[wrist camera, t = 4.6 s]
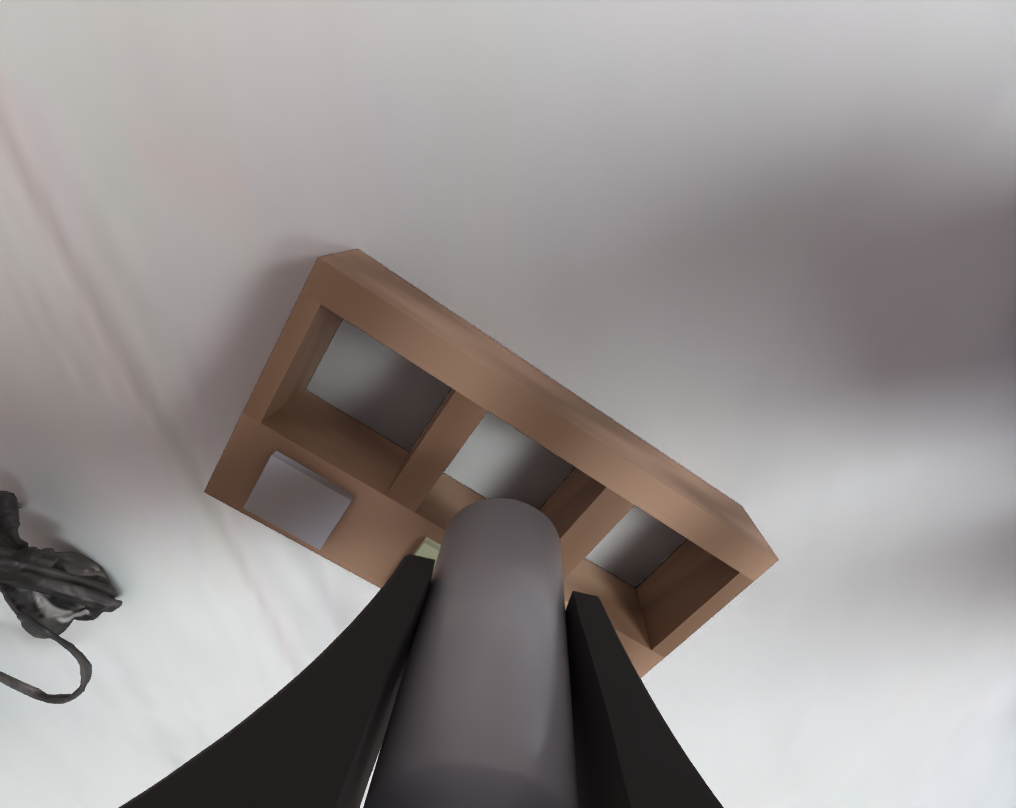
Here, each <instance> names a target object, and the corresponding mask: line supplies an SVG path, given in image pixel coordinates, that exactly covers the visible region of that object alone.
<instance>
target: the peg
mask: <svg viewBox="0 0 1016 808" xmlns="http://www.w3.org/2000/svg"><path fill="white" fill-rule="evenodd" d="M363 808H579V804H578V789H577V775H576V760H575V745H574V731H573V716H572V701H571V686H570V672H569V657H568V642H567V628H566V613H565V598H564V583H563V569H562V554H561V542H560V538H559V535H558V532H557V530H556V528H555V526H554V525H553V523H552V522H551V521H550V520H549V518H548V517H547V516H546V515H544V514H543V513H542V512H541V511H539V510H538V509H537V508H535V507H533V506H531V505H529V504H527V503H524V502H522V501H518V500H515V499H509V498H490V499H484V500H480V501H477V502H474V503H472V504H470V505H468V506H466V507H464V508H463V509H461V510H460V511H459V512H458V513H457V514H456V515H455V516H454V517H453V518H452V519H451V521H450V522H449V524H448V526H447V528H446V530H445V534H444V537H443V540H442V544H441V547H440V550H439V554H438V557H437V561H436V564H435V567H434V571H433V574H432V578H431V583H430V586H429V590H428V593H427V596H426V600H425V603H424V607H423V610H422V613H421V617H420V620H419V622H418V625H417V628H416V631H415V635H414V638H413V642H412V645H411V648H410V652H409V655H408V659H407V662H406V665H405V669H404V672H403V675H402V679H401V682H400V686H399V689H398V692H397V696H396V699H395V702H394V706H393V709H392V713H391V716H390V719H389V723H388V726H387V729H386V733H385V736H384V740H383V743H382V746H381V750H380V753H379V756H378V760H377V763H376V767H375V770H374V773H373V777H372V780H371V783H370V787H369V790H368V794H367V797H366V800H365V804H364V807H363Z"/></svg>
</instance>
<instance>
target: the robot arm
mask: <svg viewBox="0 0 1016 808" xmlns="http://www.w3.org/2000/svg"><path fill="white" fill-rule="evenodd" d="M434 564H435V560H434V559H430V558H426V557H421V556H417V555H412V554H408V555H406V556H404V557H403V559H402V561H401V562H400V564H399V565H398V567H397V568H396V570H395V571H394V573H393V574H392V575H391V577H390V578H389V579H388V581H387V582H386V583H385V584H384V586H383V587H382V588H381V589H380V591H379V592H378V593H377V594H376V596H375V597H374V598H373V599H372V600H371V601H370V603H369V604H368V605H367V606H366V607H365V608H364V609H363V610H362V612H361V613H360V614H359V615H358V616H357V617H356V618H355V620H354V621H353V622H352V623H351V624H350V625H349V626H348V627H347V628H346V629H345V630H344V631H343V632H342V633H341V634H340V635H339V636H338V637H337V638H336V639H335V640H334V641H333V642H332V643H331V644H330V645H329V646H328V647H327V648H326V649H325V650H324V651H323V652H322V653H321V654H320V655H319V656H318V657H317V658H316V659H315V660H314V661H313V662H312V663H311V664H310V665H309V666H307V667H306V668H305V669H304V670H303V671H302V672H301V673H300V674H299V675H298V676H296V677H295V678H294V679H293V680H292V681H291V682H290V683H288V684H287V685H286V686H285V687H284V688H283V689H282V690H280V691H279V692H278V693H277V694H276V695H274V696H273V697H272V698H271V699H270V700H268V701H267V702H266V703H265V704H263V705H262V706H261V707H260V708H258V709H257V710H256V711H255V712H253V713H252V714H251V715H250V716H249V717H247V718H246V719H245V720H244V721H242V722H241V723H240V724H238V725H237V726H236V727H235V728H233V729H232V730H231V731H229V732H228V733H227V734H225V735H224V736H223V737H221V738H220V739H219V740H217V741H216V742H214V743H213V744H212V745H210V746H209V747H207V748H206V749H205V750H203V751H202V752H200V753H199V754H197V755H196V756H195V757H193V758H192V759H190V760H189V761H188V762H186V763H185V764H183V765H182V766H181V767H179V768H178V769H176V770H175V771H174V772H172V773H171V774H169V775H168V776H167V777H165V778H164V779H162V780H161V781H159V782H158V783H156V784H155V785H153V786H152V787H150V788H149V789H147V790H146V791H144V792H143V793H141V794H139V795H138V796H136V797H135V798H133V799H132V800H130V801H128V802H127V803H125V804H124V805H122V806H121V807H119V808H360V805H361V802H362V799H363V796H364V793H365V790H366V787H367V784H368V781H369V778H370V775H371V772H372V770H373V767H374V764H375V762H376V759H377V756H378V754H379V751H380V748H381V745H382V743H383V740H384V736H385V733H386V729H387V726H388V723H389V719H390V716H391V713H392V709H393V706H394V702H395V699H396V696H397V692H398V689H399V686H400V682H401V679H402V675H403V672H404V669H405V665H406V662H407V659H408V655H409V652H410V648H411V645H412V642H413V638H414V635H415V631H416V628H417V625H418V622H419V620H420V617H421V613H422V610H423V607H424V603H425V600H426V596H427V593H428V590H429V586H430V583H431V578H432V574H433V569H434ZM565 613H566V628H567V642H568V657H569V672H570V686H571V701H572V716H573V731H574V745H575V760H576V775H577V789H578V804H579V808H723V806H722V805H721V804H720V802H719V801H718V799H717V798H716V797H715V795H714V794H713V793H712V791H711V790H710V789H709V787H708V786H707V784H706V783H705V781H704V780H703V778H702V777H701V776H700V774H699V773H698V771H697V770H696V768H695V767H694V766H693V764H692V763H691V761H690V760H689V758H688V757H687V755H686V754H685V752H684V751H683V749H682V748H681V746H680V744H679V743H678V741H677V740H676V738H675V737H674V735H673V733H672V732H671V730H670V728H669V727H668V725H667V724H666V722H665V720H664V719H663V717H662V715H661V714H660V712H659V710H658V709H657V707H656V705H655V704H654V702H653V700H652V698H651V697H650V695H649V693H648V691H647V689H646V688H645V686H644V684H643V682H642V680H641V679H640V677H639V675H638V673H637V671H636V669H635V668H634V666H633V664H632V662H631V660H630V658H629V656H628V654H627V652H626V651H625V649H624V647H623V645H622V643H621V641H620V639H619V637H618V635H617V633H616V631H615V629H614V627H613V625H612V622H611V620H610V618H609V616H608V614H607V612H606V610H605V608H604V606H603V604H602V602H601V600H600V598H599V597H598V596H594V595H590V594H586V593H581V592H577V591H572V594H571V596H570V599H569V602H568V605H567V607H566V610H565Z"/></svg>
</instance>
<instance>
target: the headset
mask: <svg viewBox="0 0 1016 808" xmlns="http://www.w3.org/2000/svg"><path fill="white" fill-rule="evenodd" d="M20 507H21V505H20V504H19V502H17V498H16V496H15V494H14V493H11V492H8V491H0V591H1V592H2V593H3V596H4V598H5V600H6V602H7V603H8V605H9V606H10V608H11V609H12V610H13V611H14V613H15V614H16V615H17V618H18V619H19V620H20V621H21V625H22V627H23V628H24V629H25V631H27V632H28V633H29V634H31V635H32V636H33V637H36V638H42V639H45V638H51V639H53V640H55V641H56V642H58V643H59V644H60V645H62V646H63V647H64V648H65V649H67V650H68V651H69V652H70V653H71V654H72V655H73V656H74V657H75V658H76V659H77V661H78V663H79V665H80V674H81V685H80V687H79V688H78V689H77V690H76V691H75V692H74V693H72V694H57V695H50V694H46V693H45V692H43V691H42V690H40V689H39V688H36V687H33V686H31V685H29V684H26V683H24V682H22V681H20V680H18V679H16V678H13V677H11V676H9V675H7V674H5V673H3V672H0V682H2V683H4V684H5V685H7V686H9V687H11V688H13V689H15V690H17V691H19V692H21V693H23V694H25V695H28V696H30V697H32V698H34V699H37V700H40V701H44V702H47V703H53V704H63V703H66V702H69V701H71V700H73V699H75V698H76V697H78V696H79V695H80V694H81V693H82V692H84V690H85V687H86V685H87V684H88V682H89V681H90V679H91V674H92V665H91V663H90V662H89V661H88V659H87V658H86V657H85V656H84V655H83V653H82V652H80V651H79V650H78V649H77V648H76V647H75V646H74V644H72V643H70V642H68V641H66V640H65V639H63V638H61V637H60V636H58V635H60V634H61V633H63V632H64V631H65V630H66V629H67V628H68V627H69V625H70V624H71V623H72V621H73V620H74V619H75V620H82V621H88V620H94V619H96V618H97V617H98V616H99V615H100V614H101V613H102V612H113V611H114V610H116V609H117V608H119V607H120V606H121V605H122V603H123V602H122V601H120V600H116V599H115V596H116V592H115V591H114V589H113V587H112V585H111V583H110V581H109V579H108V578H107V576H106V574H105V572H104V571H103V569H102V568H101V567H100V566H98V565H97V564H96V563H94V562H93V561H91V560H90V559H88V558H86V557H84V556H82V555H80V554H77V553H73V552H55V551H54V549H53V548H45V549H41V550H40V549H38V548H36V547H30V548H29V547H28V543H27V542H25V541H23V540H22V539H21V538H20V537H19V534H18V527H19V526H20V522H19V510H18V508H20Z"/></svg>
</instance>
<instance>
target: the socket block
mask: <svg viewBox="0 0 1016 808" xmlns="http://www.w3.org/2000/svg"><path fill="white" fill-rule="evenodd" d="M343 319H345V320H346V321H348V322H349V323H351V324H353V325H354V326H356V327H357V328H359V329H360V330H362V331H363V332H365V333H367V334H368V335H370V336H371V337H373V338H374V339H376V340H378V341H379V342H381V343H382V344H384V345H385V346H387V347H388V348H390V349H392V350H393V351H395V352H396V353H398V354H399V355H401V356H403V357H404V358H406V359H407V360H409V361H410V362H412V363H413V364H415V365H417V366H418V367H420V368H421V369H423V370H424V371H426V372H428V373H429V374H431V375H432V376H434V377H435V378H437V379H438V380H440V381H442V382H443V383H445V384H446V385H448V386H449V387H451V388H452V389H451V390H450V392H449V393H448V395H447V396H446V398H445V399H444V400H443V402H442V403H441V405H440V406H439V408H438V409H437V411H436V412H435V414H434V415H433V417H432V418H431V420H430V421H429V423H428V424H427V426H426V427H425V429H424V430H423V432H422V433H421V435H420V436H419V438H418V439H417V441H416V442H415V444H414V445H413V447H412V448H411V450H410V451H409V452H408V451H407V450H405V449H403V448H402V447H400V446H398V445H397V444H395V443H393V442H392V441H390V440H388V439H387V438H385V437H383V436H382V435H380V434H378V433H377V432H375V431H373V430H372V429H370V428H368V427H367V426H365V425H364V424H362V423H360V422H359V421H357V420H355V419H354V418H352V417H350V416H349V415H347V414H345V413H344V412H342V411H340V410H339V409H337V408H335V407H334V406H332V405H330V404H329V403H327V402H325V401H324V400H322V399H320V398H319V397H317V396H315V395H314V394H312V393H311V392H309V391H307V390H306V387H307V385H308V383H309V381H310V379H311V378H312V376H313V374H314V372H315V370H316V368H317V366H318V364H319V363H320V361H321V359H322V357H323V355H324V353H325V351H326V349H327V348H328V346H329V344H330V342H331V340H332V338H333V336H334V335H335V333H336V331H337V329H338V327H339V325H340V323H341V321H342V320H343ZM487 411H488V412H490V413H492V414H493V415H495V416H496V417H498V418H499V419H501V420H503V421H504V422H506V423H507V424H509V425H510V426H512V427H514V428H515V429H517V430H518V431H520V432H521V433H523V434H524V435H526V436H528V437H529V438H531V439H532V440H534V441H535V442H537V443H539V444H540V445H542V446H543V447H545V448H546V449H548V450H549V451H551V452H553V453H554V454H556V455H557V456H559V457H560V458H562V459H564V460H565V461H567V462H568V463H570V464H571V465H573V466H574V467H576V468H575V469H574V470H573V471H572V472H571V473H570V475H569V476H568V477H567V478H566V479H565V480H564V482H563V483H562V484H561V485H560V486H559V488H558V489H557V490H556V491H555V492H554V493H553V495H552V496H551V497H550V498H549V499H548V500H547V502H546V503H545V504H544V505H543V506H542V507H541V509H540V510H539V511H541V512H542V513H543V514H544V515H546V516H547V517H548V518H549V520H550V521H551V522H552V523H553V525H554V526H555V528H556V530H557V532H558V535H559V538H560V542H561V554H562V569H563V583H564V598H565V610H566V607H567V605H568V602H569V599H570V596H571V594H572V591H577V592H581V593H586V594H590V595H594V596H598V597H599V598H600V600H601V602H602V604H603V606H604V608H605V610H606V612H607V614H608V616H609V618H610V620H611V622H612V625H613V627H614V629H615V631H616V633H617V635H618V637H619V639H620V641H621V643H622V645H623V647H624V649H625V651H626V652H627V654H628V656H629V658H630V660H631V662H632V664H633V666H634V668H635V669H636V671H637V673H638V675H639V677H640V678H641V677H643V676H644V675H645V674H646V673H647V672H648V671H650V670H651V669H652V668H653V667H654V666H655V665H657V664H658V663H659V662H660V661H661V660H662V659H664V658H665V657H666V656H667V655H668V654H669V653H671V652H672V651H673V650H674V649H675V648H676V647H678V646H679V645H680V644H681V643H682V642H684V641H685V640H686V639H687V638H688V637H689V636H691V635H692V634H693V633H694V632H695V631H696V630H698V629H699V628H700V627H701V626H702V625H703V624H705V623H706V622H707V621H708V620H709V619H710V618H712V617H713V616H714V615H715V614H716V613H717V612H719V611H720V610H721V609H722V608H723V607H724V606H726V605H727V604H728V603H729V602H730V601H731V600H733V599H734V598H735V597H736V596H737V595H738V594H740V593H741V592H742V591H743V590H744V589H745V588H747V587H748V586H749V585H750V584H751V583H752V582H754V581H755V580H756V579H757V578H758V577H759V576H761V575H762V574H763V573H764V572H765V571H766V570H768V569H769V568H770V567H771V566H772V565H773V564H775V563H776V562H777V561H778V560H779V559H778V558H777V556H776V555H775V553H774V552H773V550H772V549H771V547H770V546H769V545H768V543H767V542H766V540H765V539H764V537H763V536H762V534H761V533H760V531H759V530H758V529H757V527H756V526H755V524H754V523H753V521H752V520H751V518H750V517H749V515H748V514H747V513H746V511H745V510H744V508H743V507H742V506H741V505H740V504H738V503H737V502H735V501H734V500H732V499H731V498H729V497H728V496H726V495H725V494H723V493H722V492H720V491H719V490H717V489H716V488H714V487H713V486H711V485H710V484H708V483H707V482H705V481H704V480H702V479H701V478H699V477H698V476H696V475H695V474H693V473H692V472H690V471H689V470H687V469H686V468H684V467H683V466H681V465H680V464H678V463H677V462H675V461H674V460H672V459H671V458H669V457H668V456H666V455H665V454H663V453H662V452H660V451H659V450H657V449H656V448H654V447H653V446H651V445H650V444H649V443H647V442H646V441H644V440H643V439H641V438H640V437H638V436H637V435H635V434H634V433H632V432H631V431H629V430H628V429H626V428H625V427H623V426H622V425H620V424H619V423H617V422H616V421H614V420H613V419H611V418H610V417H608V416H607V415H605V414H604V413H602V412H601V411H599V410H598V409H596V408H595V407H593V406H592V405H590V404H589V403H587V402H586V401H584V400H583V399H581V398H580V397H578V396H577V395H575V394H574V393H572V392H571V391H569V390H568V389H566V388H565V387H563V386H562V385H560V384H559V383H558V382H556V381H555V380H553V379H552V378H550V377H549V376H547V375H546V374H544V373H543V372H541V371H540V370H538V369H537V368H535V367H534V366H532V365H531V364H529V363H528V362H526V361H525V360H523V359H522V358H520V357H519V356H517V355H516V354H514V353H513V352H511V351H510V350H508V349H507V348H505V347H504V346H502V345H501V344H499V343H498V342H496V341H495V340H493V339H492V338H490V337H489V336H487V335H486V334H484V333H483V332H481V331H480V330H478V329H477V328H475V327H474V326H472V325H471V324H469V323H468V322H466V321H465V320H464V319H462V318H461V317H459V316H458V315H456V314H455V313H453V312H452V311H450V310H449V309H447V308H446V307H444V306H443V305H441V304H440V303H438V302H437V301H435V300H434V299H432V298H431V297H429V296H428V295H426V294H425V293H423V292H422V291H420V290H419V289H417V288H416V287H414V286H413V285H411V284H410V283H408V282H407V281H405V280H404V279H402V278H401V277H399V276H398V275H396V274H395V273H393V272H392V271H390V270H389V269H387V268H386V267H384V266H383V265H381V264H380V263H378V262H377V261H375V260H374V259H372V258H371V257H370V256H368V255H367V254H365V253H364V252H362V251H361V250H359V249H356V250H351V251H346V252H341V253H336V254H331V255H326V256H321V257H318V259H317V261H316V263H315V265H314V267H313V269H312V271H311V273H310V275H309V277H308V279H307V281H306V283H305V285H304V287H303V289H302V291H301V293H300V296H299V298H298V300H297V302H296V304H295V306H294V308H293V310H292V312H291V314H290V316H289V318H288V320H287V322H286V324H285V326H284V328H283V330H282V333H281V335H280V337H279V339H278V341H277V343H276V345H275V347H274V349H273V351H272V353H271V355H270V357H269V359H268V361H267V363H266V365H265V367H264V370H263V372H262V374H261V376H260V378H259V380H258V382H257V384H256V386H255V388H254V390H253V392H252V394H251V396H250V398H249V400H248V402H247V404H246V407H245V409H244V411H243V413H242V415H241V417H240V419H239V421H238V423H237V425H236V427H235V429H234V431H233V433H232V435H231V437H230V439H229V441H228V444H227V446H226V448H225V450H224V452H223V454H222V456H221V458H220V460H219V462H218V464H217V466H216V468H215V470H214V472H213V474H212V476H211V478H210V481H209V483H208V485H207V487H206V489H205V491H204V492H205V493H207V494H208V495H210V496H212V497H214V498H216V499H218V500H219V501H221V502H223V503H225V504H227V505H229V506H230V507H232V508H234V509H236V510H238V511H240V512H241V513H243V514H245V515H247V516H249V517H251V518H253V519H254V520H256V521H258V522H260V523H262V524H264V525H265V526H267V527H269V528H271V529H273V530H275V531H276V532H278V533H280V534H282V535H284V536H286V537H287V538H289V539H291V540H293V541H295V542H297V543H298V544H300V545H302V546H304V547H306V548H308V549H309V550H311V551H313V552H315V553H317V554H319V555H320V556H322V557H324V558H326V559H328V560H330V561H332V562H333V563H335V564H337V565H339V566H341V567H343V568H344V569H346V570H348V571H350V572H352V573H354V574H355V575H357V576H359V577H361V578H363V579H365V580H366V581H368V582H370V583H372V584H374V585H376V586H377V587H379V588H382V587H383V586H384V584H385V583H386V582H387V581H388V579H389V578H390V577H391V575H392V574H393V573H394V571H395V570H396V568H397V567H398V565H399V564H400V562H401V561H402V559H403V557H404V556H406V555H408V554H412V555H417V556H421V557H426V558H430V559H434V560H435V564H436V561H437V557H438V554H439V550H440V547H441V544H442V540H443V537H444V534H445V530H446V528H447V526H448V524H449V522H450V521H451V519H452V518H453V517H454V516H455V515H456V514H457V513H458V512H459V511H460V510H461V509H463V508H464V507H466V506H468V505H470V504H472V503H474V502H477V501H480V500H484V499H486V498H484V497H483V496H481V495H479V494H478V493H476V492H474V491H473V490H471V489H469V488H468V487H466V486H465V485H463V484H461V483H460V482H458V481H456V480H455V479H453V478H451V477H450V476H448V475H446V474H445V473H443V472H444V471H445V470H446V468H447V467H448V465H449V464H450V463H451V461H452V460H453V458H454V457H455V456H456V454H457V453H458V451H459V450H460V449H461V447H462V446H463V445H464V443H465V442H466V440H467V439H468V438H469V436H470V435H471V433H472V432H473V431H474V429H475V428H476V427H477V425H478V424H479V422H480V421H481V420H482V418H483V417H484V415H485V414H486V413H487ZM634 505H635V506H637V507H639V508H640V509H642V510H643V511H645V512H646V513H648V514H649V515H651V516H653V517H654V518H656V519H657V520H659V521H660V522H662V523H664V524H665V525H667V526H668V527H670V528H671V529H673V530H675V531H676V532H678V533H679V534H681V535H682V536H684V537H685V538H687V540H686V541H685V542H684V543H683V544H682V545H681V546H680V547H679V548H678V549H677V550H676V551H675V552H674V553H673V554H672V555H671V556H670V557H669V558H668V559H667V560H666V561H665V562H664V563H662V564H661V565H660V566H659V567H658V568H657V569H656V570H655V571H654V572H653V573H652V574H651V575H650V576H649V577H648V578H647V579H646V580H645V581H644V582H643V583H642V584H641V585H640V586H638V587H637V588H636V589H635V588H633V587H632V586H630V585H628V584H627V583H625V582H623V581H622V580H620V579H619V578H617V577H615V576H614V575H612V574H610V573H609V572H607V571H605V570H604V569H602V568H600V567H599V566H597V565H595V564H594V563H592V562H590V561H589V560H587V559H585V557H586V556H587V555H588V554H589V553H590V552H591V551H592V549H593V548H594V547H595V546H596V545H597V544H598V543H599V542H600V541H601V540H602V539H603V538H604V537H605V536H606V535H607V534H608V533H609V532H610V531H611V529H612V528H613V527H614V526H615V525H616V524H617V523H618V522H619V521H620V520H621V519H622V518H623V517H624V516H625V515H626V514H627V513H628V512H629V510H630V509H631V508H632V507H633V506H634ZM435 564H434V567H435ZM433 571H434V569H433Z"/></svg>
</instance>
